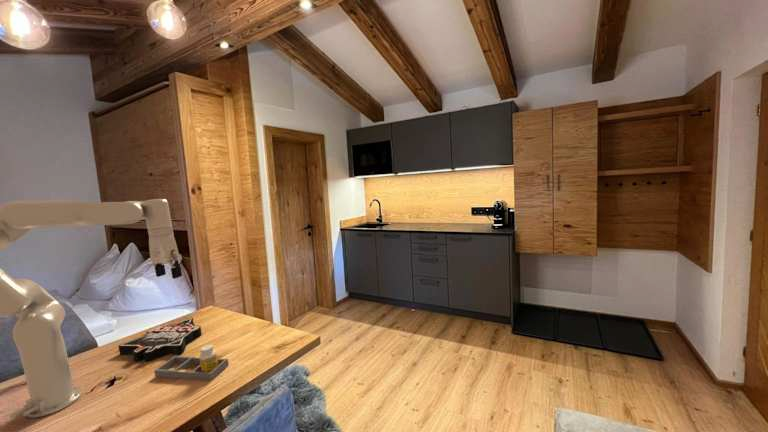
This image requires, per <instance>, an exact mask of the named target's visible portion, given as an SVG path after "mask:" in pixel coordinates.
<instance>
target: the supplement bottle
mask: <svg viewBox="0 0 768 432" xmlns="http://www.w3.org/2000/svg"><path fill="white" fill-rule="evenodd" d="M199 352H200V355H199V359H200V365H201V371H202V372H211V371H212V370H213V369H215V368H216V367H217V366H218V361H217V358H218V357H217V356H218V355H217V351H216V350H215V349H214V345H213V344H206V345H203V346H202V347H201V348H200V351H199Z"/></svg>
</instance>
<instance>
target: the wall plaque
mask: <svg viewBox="0 0 768 432" xmlns="http://www.w3.org/2000/svg"><path fill="white" fill-rule="evenodd" d="M201 336H203V335H202V327H201V325H200V324H198V325H197V324H195V323H194V318H193V317H190V318H187V319H184V320H182V321H179V322H176V323H172V324H171V323H170V324H167V325H158V326H155V327H154V328H152V329H151V328H150V329H148V330H146V332H145V333H144V334H143V335H141V336H138V337H137V338H134V339H131V340H129V341H126V342H123V343H120V344H119V345H118V352H119V355H120V356H132V358H133V362H135V363H139V362H141V361H143V360H144V362H145V363H150V362H153V361H155V360H157V359H160V358H163V357H164V356H165V357H166V356H172V355H173V356H182V355H183V354H184V353H185V350H186V348H187V345H189V344H191V343H193V341H194V340H196V339H198V338H199V339H200V337H201Z"/></svg>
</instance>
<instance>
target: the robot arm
mask: <svg viewBox="0 0 768 432" xmlns="http://www.w3.org/2000/svg"><path fill="white" fill-rule="evenodd" d="M170 211H171V210H170V206H169V202H168V200H167V199H166V198H153V199H147V200H128V201H127V200H125V201H106V202H105V201H104V202H103V201H102V202H101V201H100V202H99V201H83V200H76V199H75V200H74V199H72V200H71V199H67V200H66V199H65V200H15V201H14V200H13V201H10V202H6V203H4V204H2V205H1V206H0V252H1V251H3V250H5V249H6V248H8V247H9V246H10V245H11V244H13V243H14V242H16V241H18V240H19V239H20V238H22V237H23V236H24V235H27V234H28V233H29V232H30V231H32V230H33V229H44V228H66V227H67V228H68V227H69V228H72V227H89V226H91V227H93V226H116V225H117V226H118V225H133V224H136V223H138V222H139V221H141V220H145V223H146V228H147V234H148V237H149V238H148V246H149V247H148V248H149V249H148V250H149V256H150V261H151V262H152V263H153V264H152V265H153V267H154V270H155V277H156V278H158V277H162V276H165V275H166V274H167V273H166V268H165V267H166V266H165V265H166V264H169V265H170V266H171V268H170V271H171V278H172V279H174V280H175V279H178V278H181V277H182V276H183V273H182V268H181V267H182V262H183V261H182V258H183V255H181V254H180V253H179V249H178V245H177V241H176V238H175V236H174V235H175V233H174V230H173V223H172V222H173V221H172V218H171V217H172V216H171V213H170ZM13 316H16V317H17V318H18V320H17V321H16V323H15V324H14V327H13V330H12V338H13V341H14V343H15V346H16V348H17V350H18V354H19V356H20V361H21V365H22V367H23V372H24V378H25V381H26V386H27V391H28V394H29V399H27V400H26V401H25V403H26V404H24V405H23V406H22V407H21V408H20V409H17V410H16V411H13V412H12V413H10V414H9V418H10V419H11V420H12V421H14V420H16V419H17V418H20V417H21V416H22V417H25V418H29V419H30V418H31V419H35V418H41V417H44V416H48V415H51V414H54V413H56V412H58V411H61V410H64V409H65V408H66V407H69V406H70V405H72V404H73V403H75V402H76V401H77V400H78V399H79V398H80V397H81V396H82V394H83V391H82V388H81V387H78V386H74V381H73V377H72V376H73V375H72V371H71V367H70V363H69V358H68V353H67V352H68V351H67V348H66V344H65V340H64V337H63V334H62V331H61V325H62V323H63V322H64V319H65V317H66V310H65V308H64V306H63V305H62V304H61V303H60V302H59V301H57V299H56V298H54V297H53V296H52V295H51V294H50V293H49V292H48V291H46V289H44V288H43V287H42V286H41V285H40V284H39V283H37V282H35V281H33V280H31V279H27V278H22V277H21V278H13V277H12V276H10V275H9V274H7V272H5V270H3V269H2V268H1V267H0V317H1V318H8V317H13Z"/></svg>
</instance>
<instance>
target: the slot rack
mask: <svg viewBox="0 0 768 432" xmlns="http://www.w3.org/2000/svg"><path fill="white" fill-rule="evenodd" d="M199 356H200V355H199ZM199 356H183V355H173V357H171V358H170V359H169V360H167V361H166V362H164V363H162V364H161V365H160V366H158V367H157V368H155V369H154V371H153V372H154V377H155V378H167V379H168V378H169V379H180V380H181V379H182V380H195V381H198V380H199V381H210V382H211V381H213V380H214V379H215V378H217V376H218V375H220V373H222V371H224V370H225V369H226V368H227V367H228V366H229V365H230V364H229V359H228V358H219V357H217V361H218V366H217V367H216V368H215V369H213V370H212V371H211V372H202V371H201V365H200V359H199ZM176 364H179V366H178V367H176V368H175V369H171V367H173V366H174V365H176ZM192 365H198V366H196V367H195V368H194V369H192V370H191V371H190V370H188V369H189V368H190V367H191V366H192Z"/></svg>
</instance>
